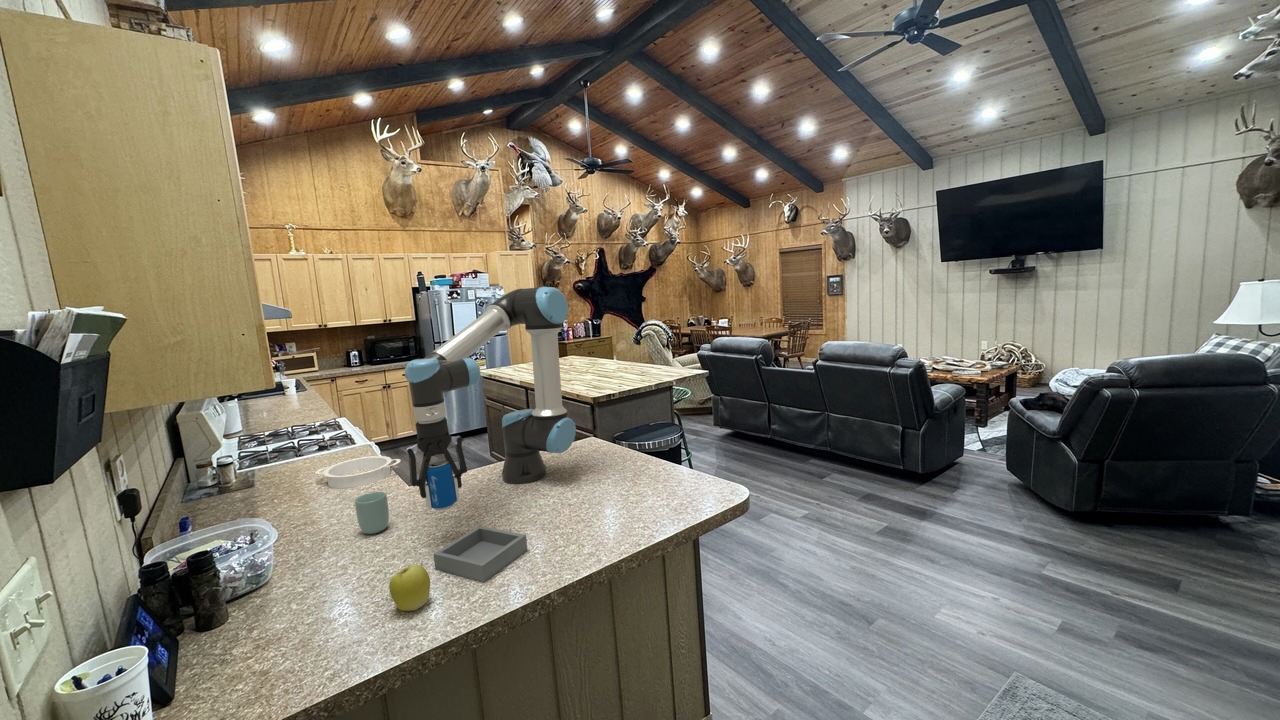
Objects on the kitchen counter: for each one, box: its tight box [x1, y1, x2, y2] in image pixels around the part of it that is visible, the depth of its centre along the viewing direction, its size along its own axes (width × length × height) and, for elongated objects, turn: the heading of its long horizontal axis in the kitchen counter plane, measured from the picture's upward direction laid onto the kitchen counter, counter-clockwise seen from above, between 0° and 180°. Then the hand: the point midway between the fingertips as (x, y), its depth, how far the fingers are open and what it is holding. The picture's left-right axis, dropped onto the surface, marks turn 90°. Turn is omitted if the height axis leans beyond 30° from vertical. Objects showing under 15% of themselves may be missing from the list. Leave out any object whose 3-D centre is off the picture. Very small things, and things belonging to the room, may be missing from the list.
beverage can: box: [426, 458, 457, 511], centre depth 136 cm, size 6×6×12 cm
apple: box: [388, 564, 431, 612], centre depth 109 cm, size 8×8×10 cm
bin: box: [433, 525, 528, 583], centre depth 126 cm, size 15×15×4 cm
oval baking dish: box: [315, 455, 401, 489], centre depth 191 cm, size 29×22×5 cm
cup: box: [354, 491, 390, 535], centre depth 145 cm, size 8×8×10 cm
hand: (443, 504), depth 137 cm, fingers closed on beverage can, 6 cm apart
